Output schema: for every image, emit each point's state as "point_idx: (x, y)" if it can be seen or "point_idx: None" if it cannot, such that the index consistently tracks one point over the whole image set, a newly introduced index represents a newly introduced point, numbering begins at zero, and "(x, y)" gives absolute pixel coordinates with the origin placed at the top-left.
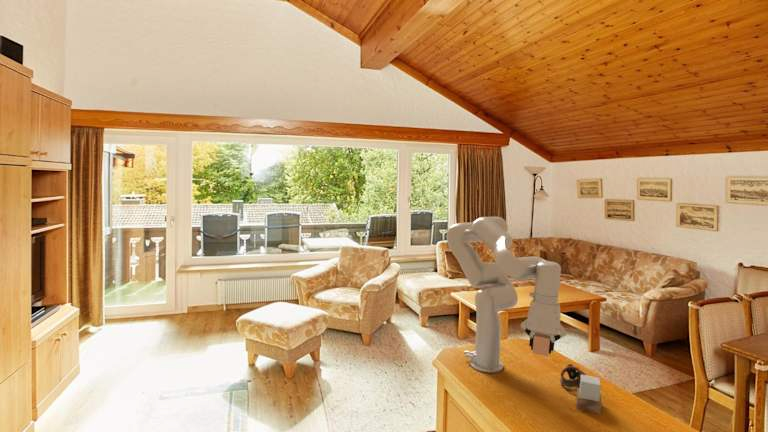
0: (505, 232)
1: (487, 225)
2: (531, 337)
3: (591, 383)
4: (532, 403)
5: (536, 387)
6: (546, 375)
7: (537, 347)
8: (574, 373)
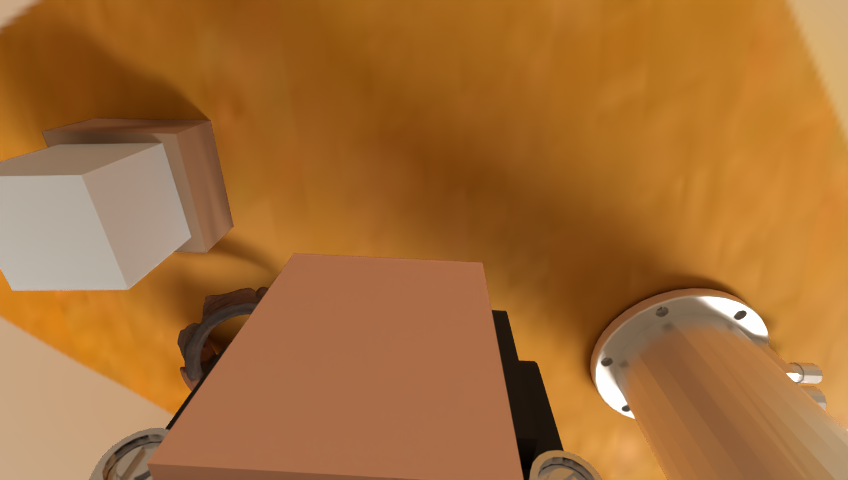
0: None
1: None
2: (548, 469)
3: (10, 174)
4: (432, 59)
5: (425, 249)
6: None
7: (424, 311)
8: None
